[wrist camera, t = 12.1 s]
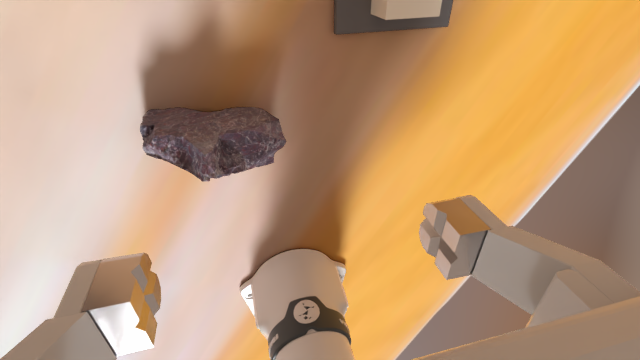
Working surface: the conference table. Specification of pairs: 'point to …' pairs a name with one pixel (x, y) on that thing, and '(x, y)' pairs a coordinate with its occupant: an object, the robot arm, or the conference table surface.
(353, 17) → the mat
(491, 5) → the conference table surface
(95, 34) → the conference table surface
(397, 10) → the block
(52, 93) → the conference table surface
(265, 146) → the stone
